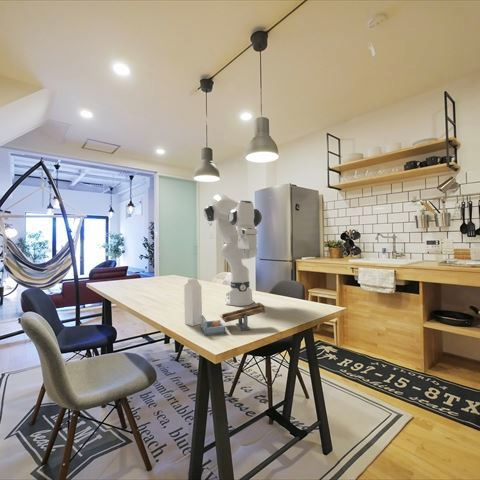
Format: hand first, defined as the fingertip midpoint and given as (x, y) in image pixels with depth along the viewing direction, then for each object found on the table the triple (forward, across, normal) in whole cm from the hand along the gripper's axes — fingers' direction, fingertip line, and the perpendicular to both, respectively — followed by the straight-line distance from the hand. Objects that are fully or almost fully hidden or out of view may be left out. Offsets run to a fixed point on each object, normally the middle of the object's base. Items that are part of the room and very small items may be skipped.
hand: (246, 258), depth 142 cm
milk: (+31, 0, -28) cm, 42 cm away
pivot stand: (+31, +14, -7) cm, 35 cm away
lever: (+27, +11, -6) cm, 30 cm away
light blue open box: (+31, +14, -21) cm, 40 cm away
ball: (+29, +14, -20) cm, 37 cm away
